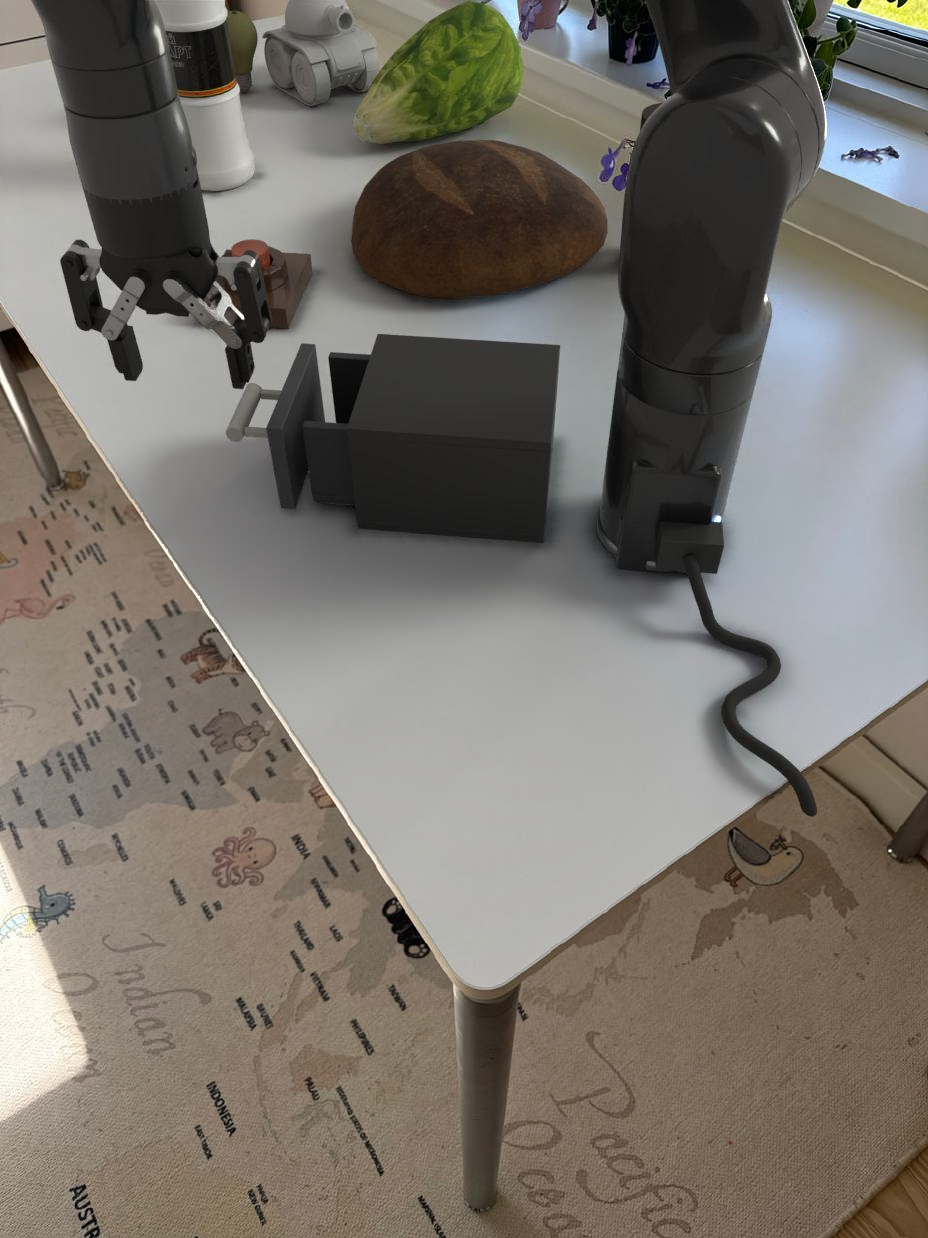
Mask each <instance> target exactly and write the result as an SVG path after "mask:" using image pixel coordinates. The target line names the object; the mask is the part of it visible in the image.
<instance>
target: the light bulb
mask: <svg viewBox="0 0 928 1238" xmlns="http://www.w3.org/2000/svg"><path fill="white" fill-rule="evenodd" d="M226 19H227V26H228V32H229V38H230V45H231V51H232V57H233V63H234V70H235V76H236V82H237V83H238V85H239V87H240V92H239V93H242V94H247V93H248V92H249V91H250V89H251V88H253V79H252V72H253V68H254V65H253V64H254V57H255V54H256V50H257V47H258V38H259V37H258V36H259V35H258V31H257V28H256V25H255V23H254V21H252V19H251V18H250V17H249V16H248V15H247V14H245V13H244V12H242V11H239V10H227V17H226Z"/></svg>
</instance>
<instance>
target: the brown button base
mask: <svg viewBox="0 0 928 1238" xmlns="http://www.w3.org/2000/svg"><path fill="white" fill-rule="evenodd" d="M268 249H269V256H270V262H271V263H270V266H268V267H267V268H265V269H263V270H262V274H263V278H264V283H265V287H266V292H267V296H268V301H269V305H270V310H271V314H272V319H273V321H272V324H271V326H270V327H269V329H285V330H288V329H290V326H291V323H292V321H293V319H294V317H295V314H296V312H297V311H298V308H299V306H300V303H301V301H302V299H303V297H304V294H305V292H306V289H307V287H308V285H309V283H310V280H311V278H312V277H313V276H312V275H313V271H314V270H313V263H312V255H311V254H310V253H301V252H299V253H298V252H284V251H283V252H282V250H280V249H278V248H275V247H272V246H270V245H268ZM221 257H232V252H231V249H226V250H225V251H224V253H223V255H222V256H221ZM216 282H217V283H218V284H219V285H220V286H221V287H222V288H223V289H224V290H225V291H226V292H227V293H228V295H229V296H230V298H231V301H232V304H233V305H234V306H235V307H236V308H237V309H238V310H239V311H240V313H241V314H242V315H243V312H242V308H241V304H240V300H239V296H238V292H237V290H236V291H233V290H232V289H231V286H230V285H229V282H228V281H227V279H226V278H225V277H223V276H220V275H218V277H217V279H216ZM204 302H205V303H206V304H207V305H208V306H209V307H210V306H211V302H210V300H209V299H208V298H207V297H205V299H204ZM198 323H199V324H201V323H200V322H199V321H198Z"/></svg>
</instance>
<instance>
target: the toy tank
mask: <svg viewBox="0 0 928 1238" xmlns="http://www.w3.org/2000/svg"><path fill="white" fill-rule="evenodd" d="M347 3H348V2H347V1H346V0H288V1H287V4H286V7H285V11H284V25H282V26H281V27H279V28H274V29H270V30H266V31H265V32H263V34H262V36H261V38H262V39H263V40H264V39H265V42H264V46H263V47H264V48H263V49H264V51H263V53H264V61H265V64H266V68H267V71H268V74H269V76H270V78H271V80H272V82H273V83H274V85H275V86H276V87H277V88H278V89H279V90H281V91H282V92H284V93H286V94H287V95H289V96H291V97H293V98H294V99H296V100H298V101H300V102H301V103H303V104H304V105H306V106H308V107H311V106H312V107H313V106H316V105H320V104H323V103H325V102H327V101H328V100H329V99H330V95H331V90H332V89H335V88H339V87H343V86H345V87H346V88H348V89H351V90H352V91H354V92H356V93H362V92H366V91H367V92H368V91H369V88H370V86H371V84H372V82H373V80H374V79H375V77H376V76H377V74H378V73H379V71H380V70H381V68H380V61H379V56H378V52H377V49H376V48H378V47H379V45H378V43H377V41H376V39H375V38H374V35H372V34H371V33H370V32H369V31H368V30H367V29H365V28H362V27H361V26H358V25H357V24H355V16H354V13H353V12H352V11H351V10H350V8H349V4H347Z"/></svg>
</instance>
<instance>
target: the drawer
mask: <svg viewBox="0 0 928 1238" xmlns="http://www.w3.org/2000/svg"><path fill="white" fill-rule="evenodd" d="M370 356H371V353H369V354H367V353H352V352H337V351H336V352H335V351H330V352H329V354H328V356H327V357H328V358H327V359H328V369H329V377H330V384H331V385H330V386H331V393H332V401H333V409H334V419H335V422H328V421H326V418H325V408H324V399H323V392H322V385H321V377H320V369H319V363H318V355H317V346H316V344H315V343H304V342H301V344H300V345H299V349H298V350H297V353H296V355H295V357H294V359H293V362H292V365H291V368H290V370H289V372H288V375H287V377H286V379H285V381H284V384H283V387H282V389H281V390H280V389H268V388H267V389H266V388H265V389H264V388H262V386H261V385H260V384H258V383H255V382H249V383H248V384H246V385H245V387H244V389H243V390H244V391H243V392H242V395H241V397H240V399H239V402H238V403H237V406H236V408H235V410H234V412H233V414H232V416H231V419H230V421H229V423H228V425H227V427H226V430H225V436H226V437H227V439H228V440H230V441H231V442H234V443H238V442H242V441H243V440H244V437H245V438H256V439H257V438H259V439H267V441H268V446H269V451H270V457H271V463H272V468H273V473H274V479H275V484H276V490H277V491H276V492H277V496H278V501H279V507H280V509H282V510H296V508H297V505H298V502H299V500H300V496H301V493H302V491H303V487H304V486H305V482H306V480H307V477H308V475H309V482H310V489H311V494H312V495H311V496H312V502H313V503H317V504H331V505H343V506H355V499H354V490H353V481H352V472H351V463H350V454H349V444H348V436H347V426H348V423H349V420H350V417H351V414H352V411H353V408H354V405H355V402H356V399H357V396H358V393H359V389H360V386H361V383H362V380H363V377H364V374H365V371H366V368H367V365H368V362H369V359H370ZM261 400H267V401H268V400H269V401H276V403H275V406H274V408H273V410H272V413H271V416H270V418H269V420H268V423H267V425H266V427H260V426H259V427H258V426H250V424H251V421H252V419H253V417H254V415H255V412H256V410H257V408H258V405H259V404H260V401H261Z"/></svg>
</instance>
